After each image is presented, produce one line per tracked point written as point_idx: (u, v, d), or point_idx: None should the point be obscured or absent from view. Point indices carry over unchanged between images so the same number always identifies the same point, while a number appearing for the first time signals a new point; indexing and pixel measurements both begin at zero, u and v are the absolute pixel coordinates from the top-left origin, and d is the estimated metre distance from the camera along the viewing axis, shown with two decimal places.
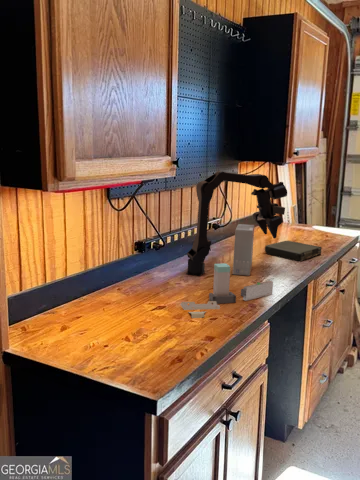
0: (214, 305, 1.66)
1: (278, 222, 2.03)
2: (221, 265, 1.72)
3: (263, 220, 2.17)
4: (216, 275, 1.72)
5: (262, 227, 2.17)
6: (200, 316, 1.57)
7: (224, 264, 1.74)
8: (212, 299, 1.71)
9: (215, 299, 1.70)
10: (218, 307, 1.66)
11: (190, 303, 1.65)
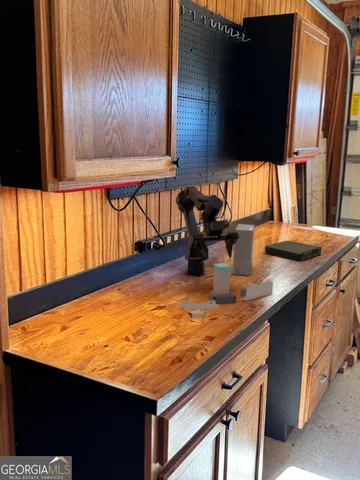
0: (213, 305, 1.67)
1: (192, 240, 1.81)
2: (221, 265, 1.72)
3: (227, 242, 1.85)
4: (216, 275, 1.72)
5: (227, 251, 1.84)
6: (201, 316, 1.58)
7: (224, 264, 1.74)
8: (212, 299, 1.71)
9: (215, 299, 1.70)
10: (217, 306, 1.66)
11: (189, 303, 1.65)
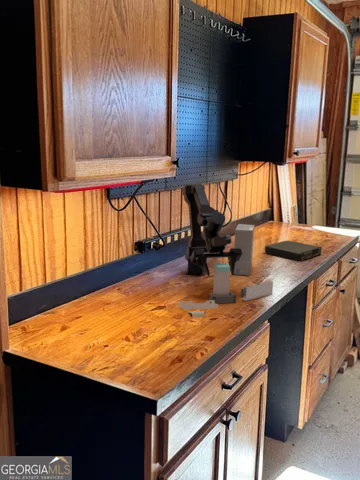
0: (213, 304, 1.67)
1: (193, 256, 1.76)
2: (221, 265, 1.72)
3: (230, 259, 1.79)
4: (216, 275, 1.72)
5: (230, 267, 1.78)
6: (201, 316, 1.58)
7: (224, 264, 1.74)
8: (212, 299, 1.71)
9: (215, 299, 1.70)
10: (216, 306, 1.67)
11: (189, 303, 1.65)
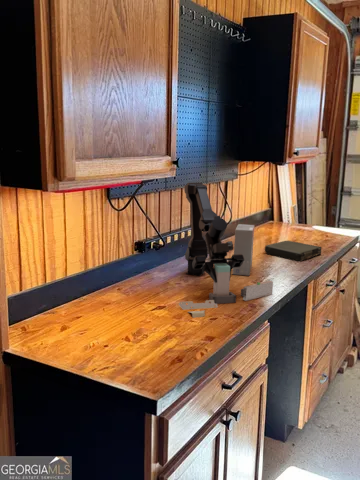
0: (212, 304, 1.67)
1: (194, 262, 1.74)
2: (221, 265, 1.72)
3: None
4: (216, 275, 1.72)
5: None
6: (201, 316, 1.58)
7: (224, 264, 1.74)
8: (212, 299, 1.71)
9: (215, 299, 1.70)
10: (216, 306, 1.67)
11: (188, 303, 1.65)
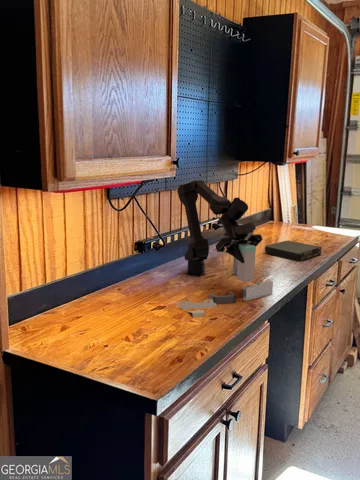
0: (211, 304, 1.68)
1: (220, 245, 1.74)
2: (246, 245, 1.76)
3: None
4: (243, 256, 1.75)
5: None
6: (201, 315, 1.58)
7: (248, 244, 1.77)
8: None
9: (215, 299, 1.70)
10: (215, 305, 1.68)
11: (188, 302, 1.66)
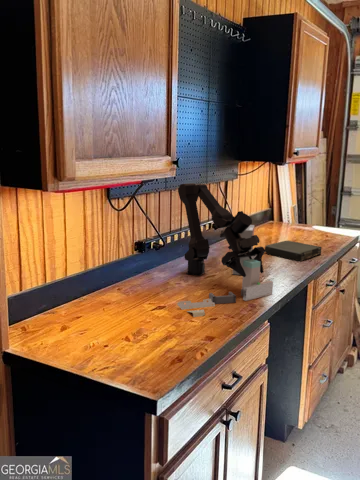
0: (210, 303, 1.68)
1: (227, 259, 1.76)
2: (251, 261, 1.79)
3: (255, 258, 1.85)
4: (248, 271, 1.78)
5: None
6: (201, 315, 1.59)
7: (252, 260, 1.81)
8: (212, 299, 1.71)
9: (215, 299, 1.70)
10: (213, 304, 1.68)
11: (187, 302, 1.66)
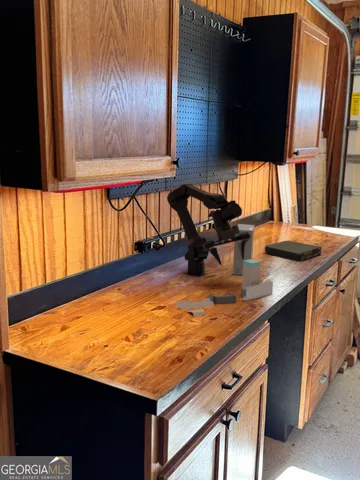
0: (208, 302, 1.69)
1: (204, 248, 1.88)
2: (251, 261, 1.79)
3: (240, 243, 1.90)
4: (248, 271, 1.78)
5: (240, 251, 1.91)
6: (201, 314, 1.59)
7: (252, 260, 1.81)
8: (212, 299, 1.71)
9: (215, 299, 1.70)
10: (212, 304, 1.69)
11: (186, 302, 1.66)
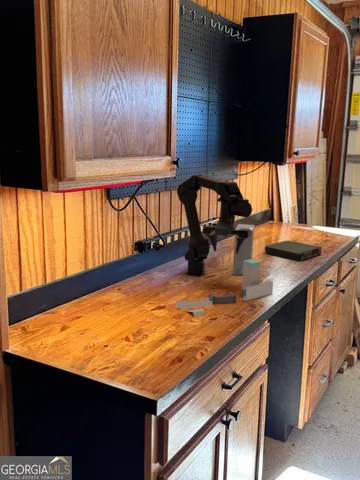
0: (207, 302, 1.69)
1: None
2: (251, 261, 1.79)
3: None
4: (248, 271, 1.78)
5: None
6: (201, 314, 1.60)
7: (252, 260, 1.81)
8: (212, 299, 1.71)
9: (215, 299, 1.70)
10: (211, 303, 1.70)
11: (185, 302, 1.66)
